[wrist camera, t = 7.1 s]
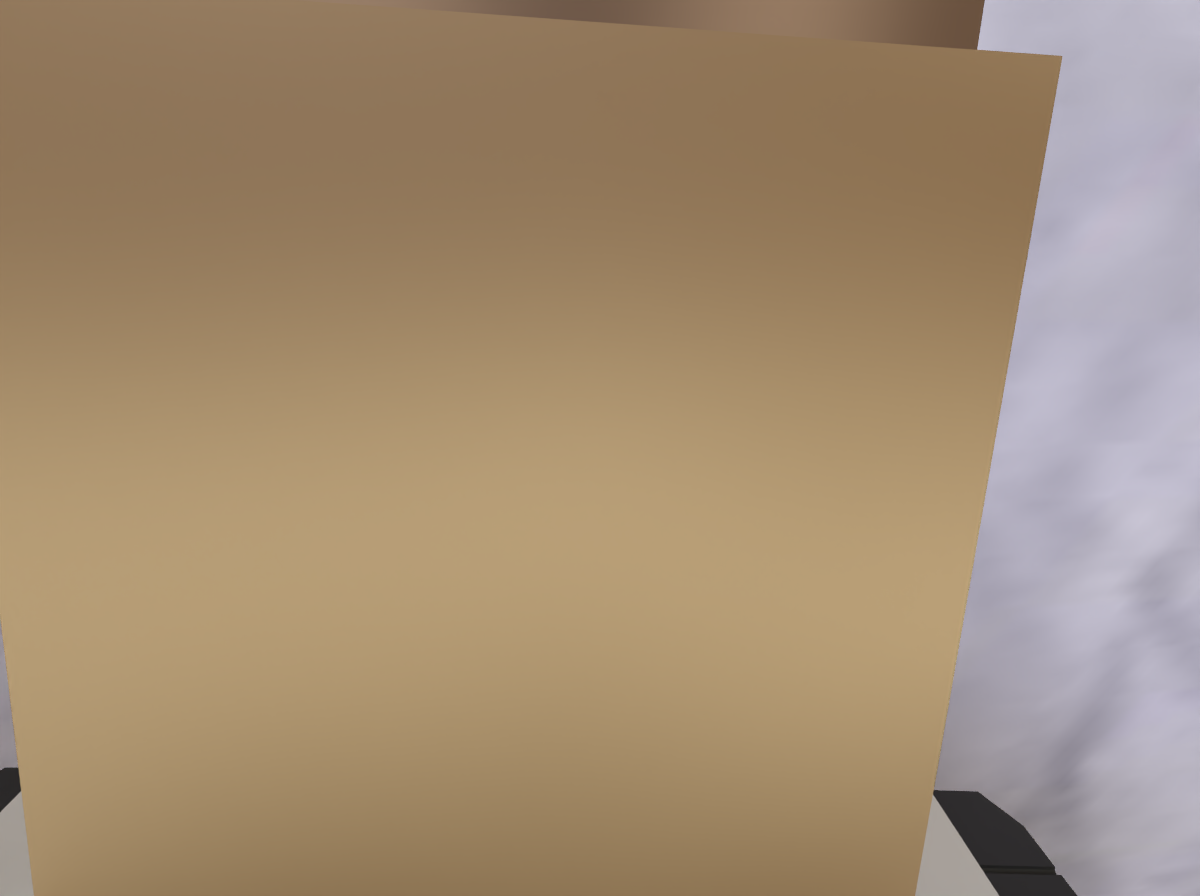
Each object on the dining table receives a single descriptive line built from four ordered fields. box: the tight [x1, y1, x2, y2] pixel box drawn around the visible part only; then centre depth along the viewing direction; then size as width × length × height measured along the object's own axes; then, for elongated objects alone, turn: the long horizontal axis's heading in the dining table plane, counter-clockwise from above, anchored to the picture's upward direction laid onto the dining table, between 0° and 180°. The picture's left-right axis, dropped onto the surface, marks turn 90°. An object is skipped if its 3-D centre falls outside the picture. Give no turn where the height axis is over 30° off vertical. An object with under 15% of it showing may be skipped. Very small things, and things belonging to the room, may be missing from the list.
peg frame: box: [302, 0, 985, 50], centre depth 17 cm, size 13×22×6 cm, turn 177°
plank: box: [0, 0, 1062, 896], centre depth 8 cm, size 14×6×4 cm, turn 177°
